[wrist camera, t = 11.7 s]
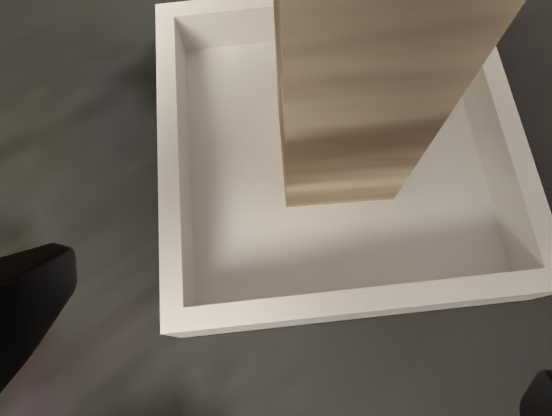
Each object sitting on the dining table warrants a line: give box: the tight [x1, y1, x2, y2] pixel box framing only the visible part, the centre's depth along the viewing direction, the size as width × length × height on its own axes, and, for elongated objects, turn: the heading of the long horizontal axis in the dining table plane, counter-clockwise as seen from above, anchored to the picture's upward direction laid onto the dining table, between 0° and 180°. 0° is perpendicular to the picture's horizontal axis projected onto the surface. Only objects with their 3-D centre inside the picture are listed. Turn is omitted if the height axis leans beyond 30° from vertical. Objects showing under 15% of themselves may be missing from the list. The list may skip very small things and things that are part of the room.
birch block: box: [273, 0, 526, 207], centre depth 13 cm, size 5×5×13 cm
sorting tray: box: [155, 0, 552, 338], centre depth 18 cm, size 14×14×3 cm
